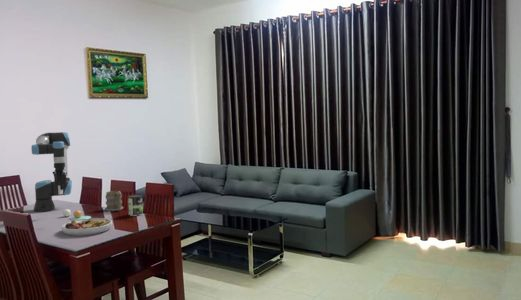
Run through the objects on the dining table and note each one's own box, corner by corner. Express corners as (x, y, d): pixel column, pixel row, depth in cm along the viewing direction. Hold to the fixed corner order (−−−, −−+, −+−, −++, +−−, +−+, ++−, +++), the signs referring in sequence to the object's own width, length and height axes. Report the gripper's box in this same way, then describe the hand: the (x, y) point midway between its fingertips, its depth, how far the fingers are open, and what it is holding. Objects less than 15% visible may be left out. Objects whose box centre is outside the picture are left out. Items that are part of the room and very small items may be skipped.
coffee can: (145, 213, 324) (144, 194, 323) (138, 216, 314) (138, 197, 313) (132, 212, 326) (132, 194, 325) (126, 215, 316) (125, 197, 315)
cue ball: (65, 209, 313) (66, 216, 313) (71, 207, 318) (73, 215, 318) (60, 210, 316) (62, 217, 315) (66, 209, 321) (68, 216, 320)
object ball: (73, 209, 309) (78, 214, 307) (79, 208, 314) (84, 212, 312) (70, 215, 311) (75, 220, 309) (77, 214, 316) (81, 218, 314)
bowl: (86, 223, 295) (86, 212, 294) (122, 227, 284) (121, 215, 283) (50, 235, 267) (50, 222, 266) (88, 239, 256) (88, 226, 255)
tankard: (103, 209, 342) (102, 190, 341) (119, 207, 350) (118, 188, 349) (112, 213, 326) (112, 193, 325) (128, 210, 334) (128, 191, 333)
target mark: (65, 219, 307) (65, 219, 307) (81, 215, 320) (81, 215, 320) (79, 221, 301) (79, 220, 301) (95, 217, 314) (95, 216, 314)
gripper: (48, 162, 316) (50, 194, 318) (60, 163, 310) (62, 195, 312) (57, 161, 323) (59, 192, 325) (69, 162, 317) (71, 193, 319)
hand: (60, 194), depth 318 cm, fingers closed
